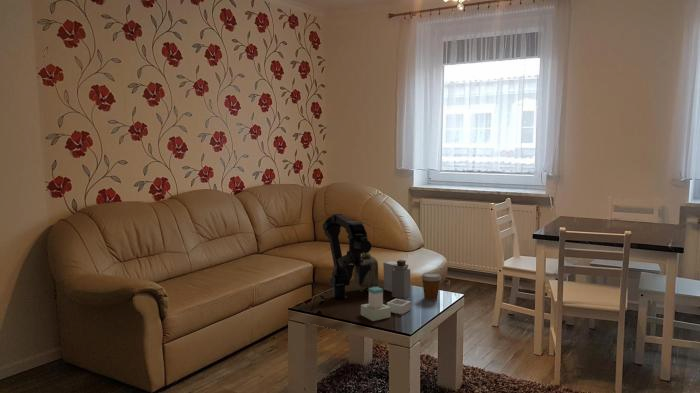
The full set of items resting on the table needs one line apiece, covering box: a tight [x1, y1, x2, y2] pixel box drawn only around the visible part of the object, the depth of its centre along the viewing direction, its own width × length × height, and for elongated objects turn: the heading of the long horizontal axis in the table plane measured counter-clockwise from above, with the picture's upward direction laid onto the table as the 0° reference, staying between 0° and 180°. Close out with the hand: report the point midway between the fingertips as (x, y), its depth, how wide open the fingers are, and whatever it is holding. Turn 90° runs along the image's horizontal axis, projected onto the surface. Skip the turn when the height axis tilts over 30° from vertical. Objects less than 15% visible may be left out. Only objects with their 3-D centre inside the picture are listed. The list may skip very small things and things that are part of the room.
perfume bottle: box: [391, 259, 411, 300], centre depth 255 cm, size 7×7×18 cm
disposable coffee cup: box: [421, 272, 442, 301], centre depth 251 cm, size 10×10×12 cm
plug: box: [368, 286, 384, 309], centre depth 225 cm, size 5×5×12 cm
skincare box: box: [383, 260, 397, 293], centre depth 264 cm, size 8×6×15 cm
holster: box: [386, 297, 412, 315], centre depth 233 cm, size 8×8×4 cm
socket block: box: [360, 303, 392, 322], centre depth 226 cm, size 10×10×4 cm
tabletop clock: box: [353, 252, 379, 293], centre depth 261 cm, size 14×9×25 cm, turn 15°
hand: (355, 281), depth 237 cm, fingers open, 9 cm apart
